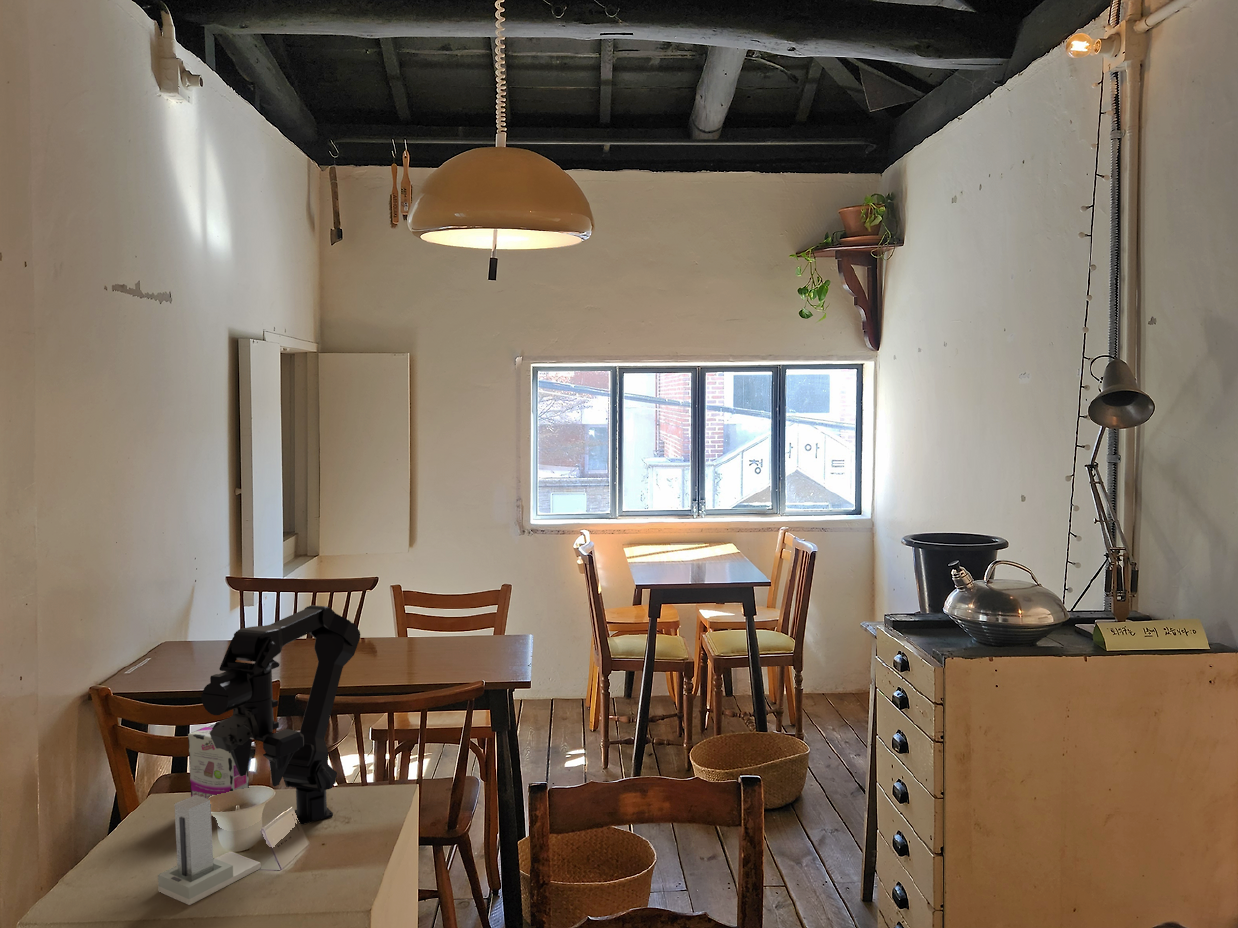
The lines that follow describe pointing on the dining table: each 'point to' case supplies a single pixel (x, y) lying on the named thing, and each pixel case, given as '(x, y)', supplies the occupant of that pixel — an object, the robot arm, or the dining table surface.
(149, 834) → the dining table surface
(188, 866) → the block
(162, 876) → the white tray
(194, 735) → the candy bar box
